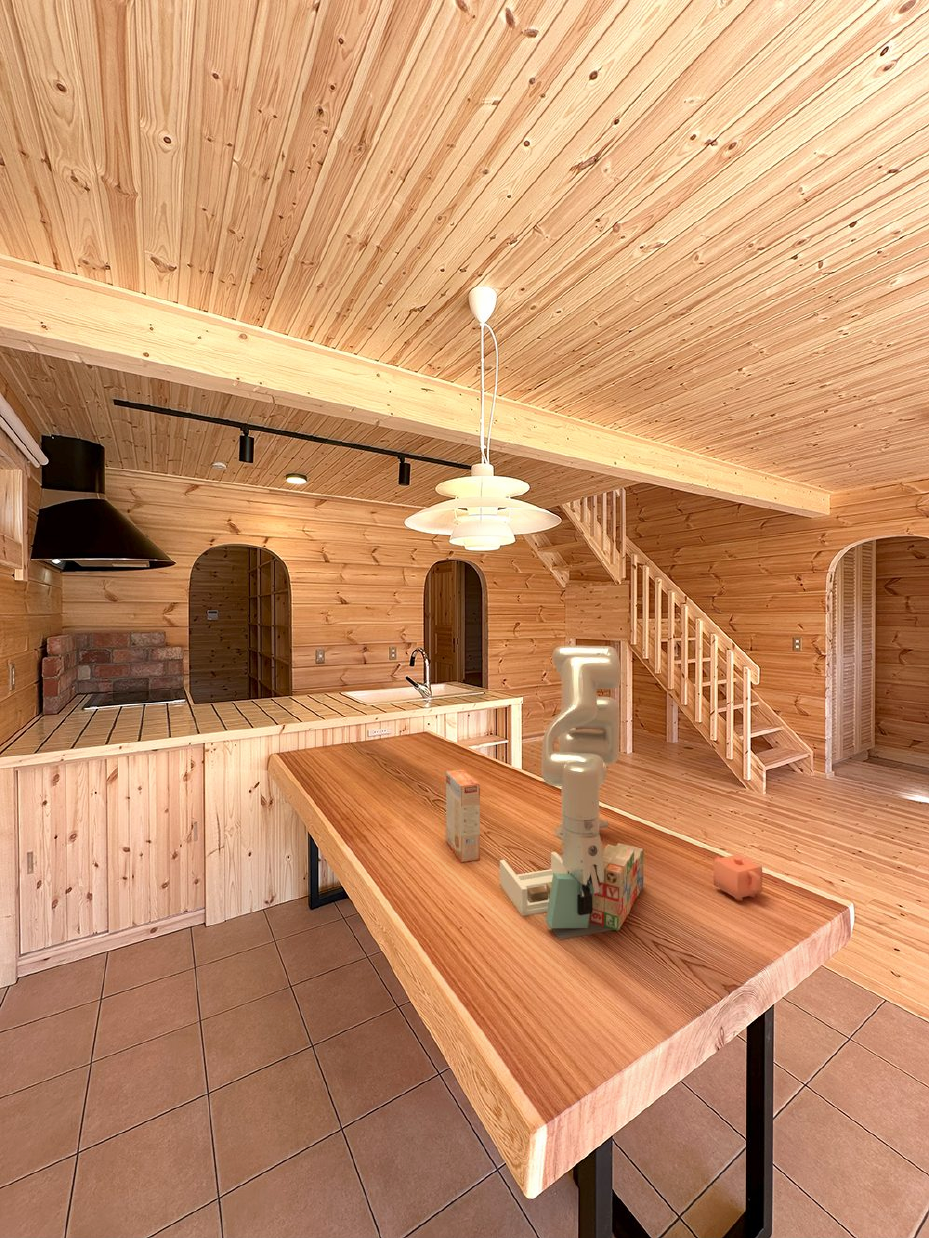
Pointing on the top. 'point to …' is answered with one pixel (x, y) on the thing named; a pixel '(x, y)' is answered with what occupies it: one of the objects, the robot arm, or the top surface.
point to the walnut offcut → (537, 894)
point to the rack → (528, 884)
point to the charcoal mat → (579, 931)
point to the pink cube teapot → (737, 876)
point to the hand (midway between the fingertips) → (581, 908)
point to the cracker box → (463, 815)
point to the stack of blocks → (618, 885)
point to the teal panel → (565, 903)
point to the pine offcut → (548, 888)
